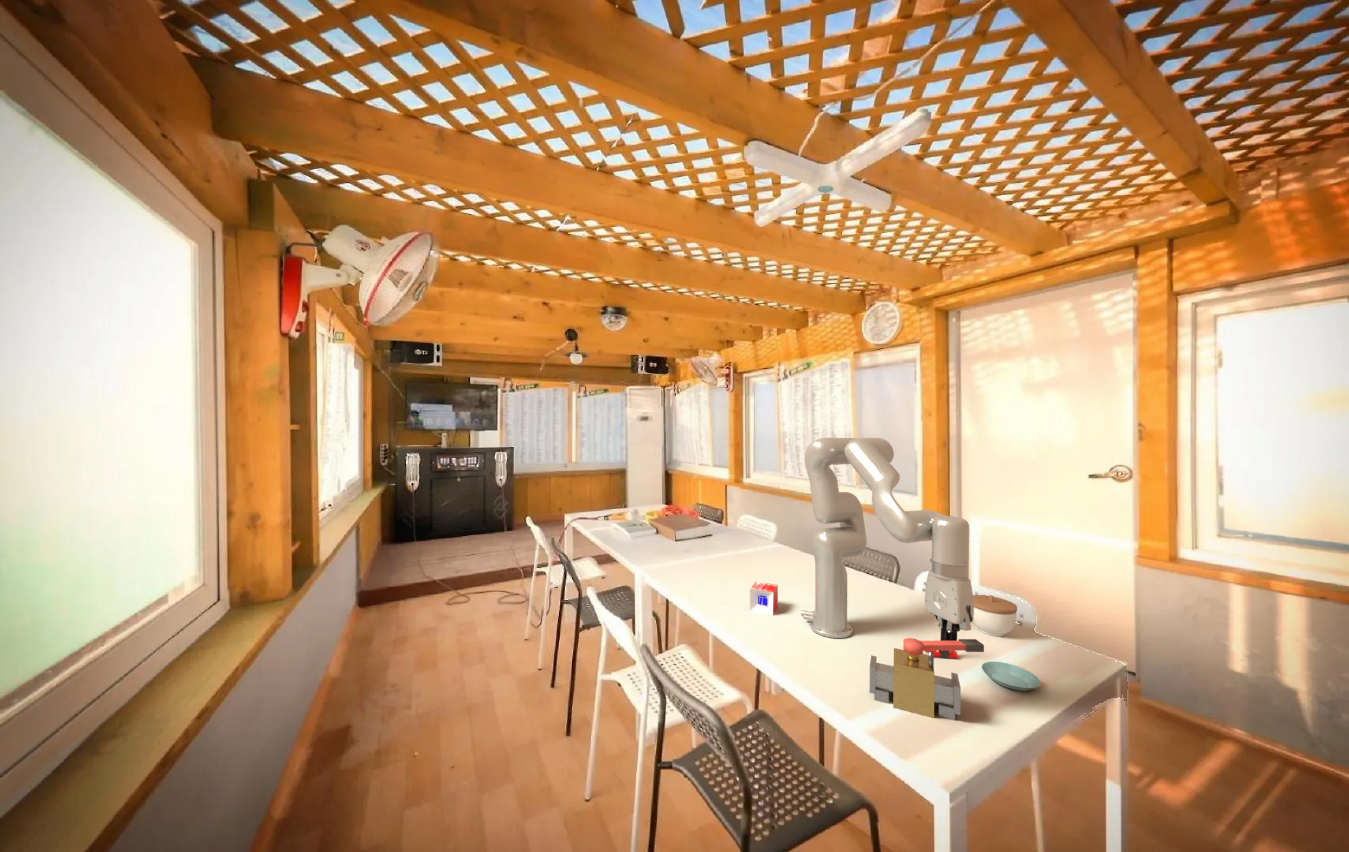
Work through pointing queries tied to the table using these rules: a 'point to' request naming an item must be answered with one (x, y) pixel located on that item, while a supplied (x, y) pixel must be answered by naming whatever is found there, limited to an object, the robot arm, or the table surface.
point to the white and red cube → (764, 598)
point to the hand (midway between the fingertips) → (948, 646)
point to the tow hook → (944, 653)
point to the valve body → (915, 685)
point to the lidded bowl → (994, 615)
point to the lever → (941, 645)
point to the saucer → (1011, 676)
